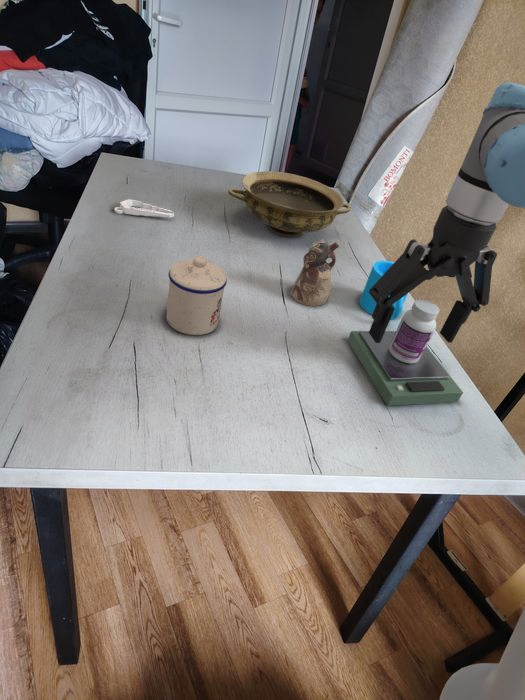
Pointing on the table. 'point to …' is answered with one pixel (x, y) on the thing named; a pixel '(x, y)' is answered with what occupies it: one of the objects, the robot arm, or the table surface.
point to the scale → (404, 390)
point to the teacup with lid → (195, 296)
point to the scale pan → (400, 370)
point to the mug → (375, 275)
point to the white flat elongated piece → (154, 211)
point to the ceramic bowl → (290, 202)
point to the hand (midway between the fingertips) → (410, 337)
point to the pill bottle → (414, 331)
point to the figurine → (315, 275)
